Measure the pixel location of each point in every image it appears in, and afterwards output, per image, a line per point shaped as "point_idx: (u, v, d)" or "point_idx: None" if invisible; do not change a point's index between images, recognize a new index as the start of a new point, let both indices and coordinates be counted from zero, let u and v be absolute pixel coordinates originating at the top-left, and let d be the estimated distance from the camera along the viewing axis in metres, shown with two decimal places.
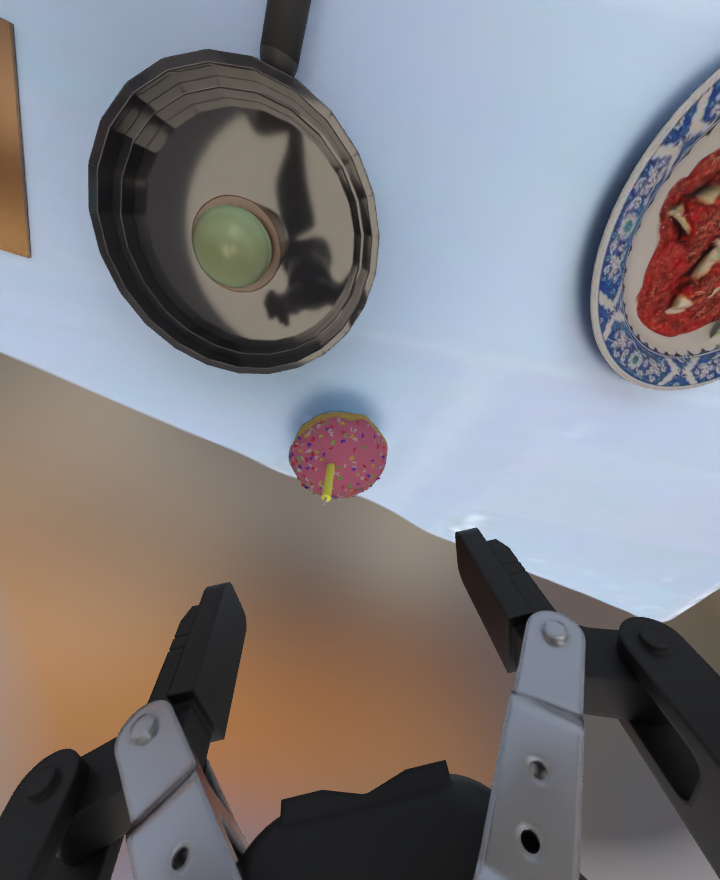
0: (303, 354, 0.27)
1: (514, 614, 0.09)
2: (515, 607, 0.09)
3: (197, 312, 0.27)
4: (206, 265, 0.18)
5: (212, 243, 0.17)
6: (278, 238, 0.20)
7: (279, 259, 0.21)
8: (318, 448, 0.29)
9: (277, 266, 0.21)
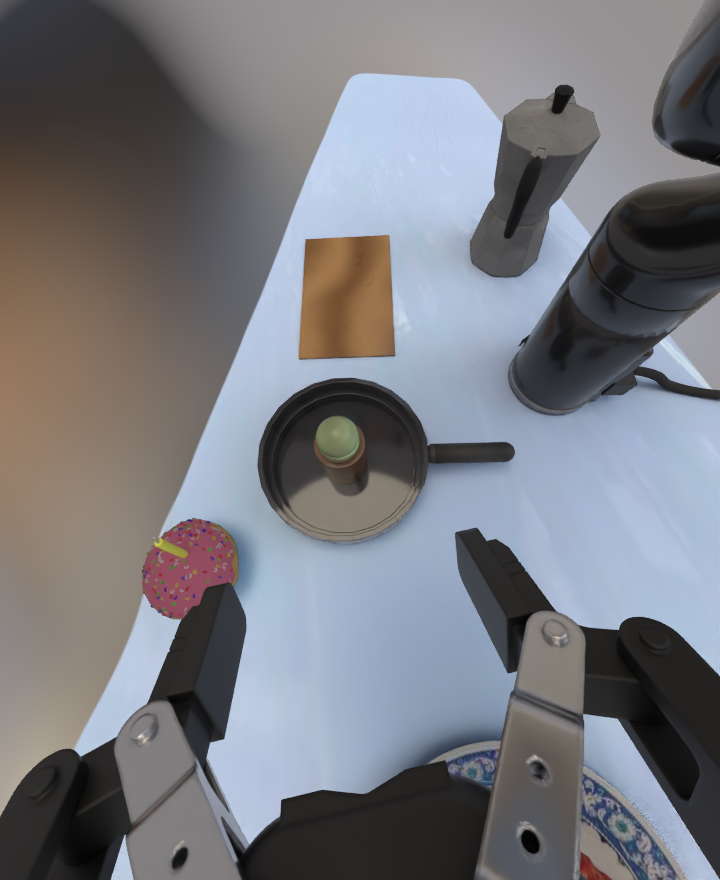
0: (281, 508, 0.35)
1: (514, 614, 0.09)
2: (515, 607, 0.09)
3: (292, 439, 0.40)
4: (324, 422, 0.30)
5: (336, 422, 0.30)
6: (351, 464, 0.32)
7: (340, 467, 0.32)
8: (201, 538, 0.32)
9: (336, 467, 0.32)
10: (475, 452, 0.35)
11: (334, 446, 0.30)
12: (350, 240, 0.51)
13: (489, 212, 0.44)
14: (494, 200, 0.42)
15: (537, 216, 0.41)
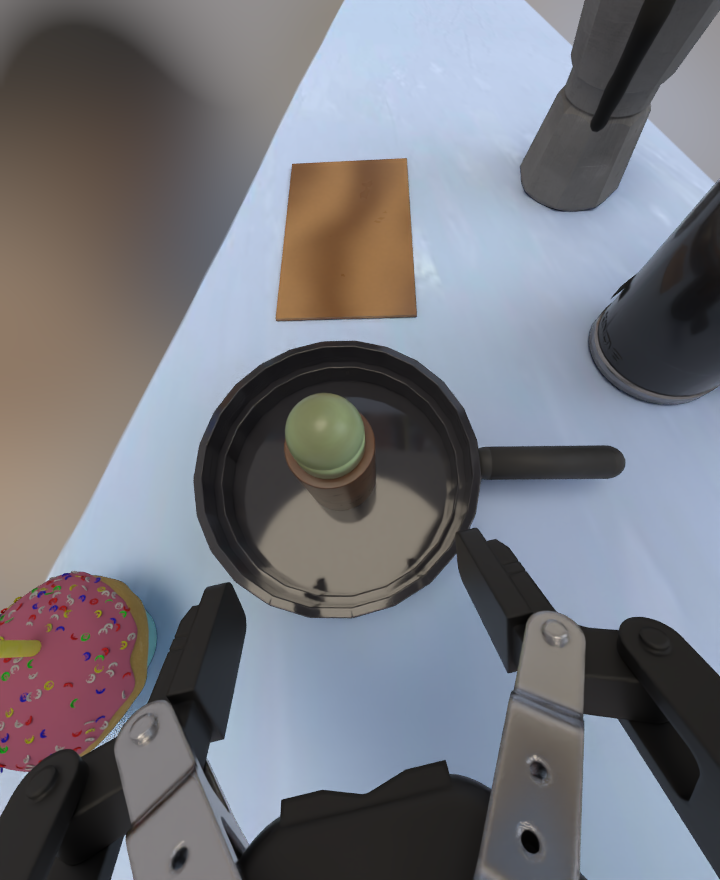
0: (229, 554, 0.20)
1: (514, 614, 0.09)
2: (515, 607, 0.09)
3: (259, 438, 0.26)
4: (299, 404, 0.16)
5: (322, 404, 0.16)
6: (350, 481, 0.18)
7: (330, 487, 0.18)
8: (74, 614, 0.17)
9: (322, 487, 0.18)
10: (560, 462, 0.21)
11: (317, 449, 0.15)
12: (353, 164, 0.37)
13: (559, 106, 0.30)
14: (570, 83, 0.28)
15: (639, 101, 0.27)
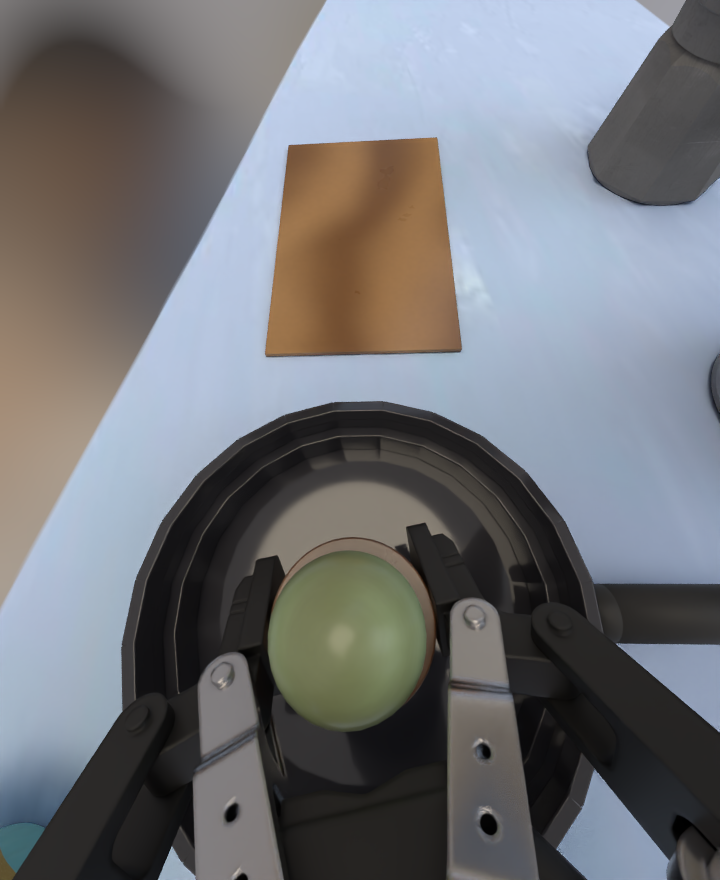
0: None
1: (443, 601, 0.10)
2: (445, 594, 0.10)
3: (239, 539, 0.18)
4: (297, 596, 0.08)
5: (345, 609, 0.07)
6: None
7: None
8: None
9: None
10: None
11: (336, 717, 0.07)
12: (368, 146, 0.28)
13: (662, 56, 0.21)
14: (684, 20, 0.20)
15: None
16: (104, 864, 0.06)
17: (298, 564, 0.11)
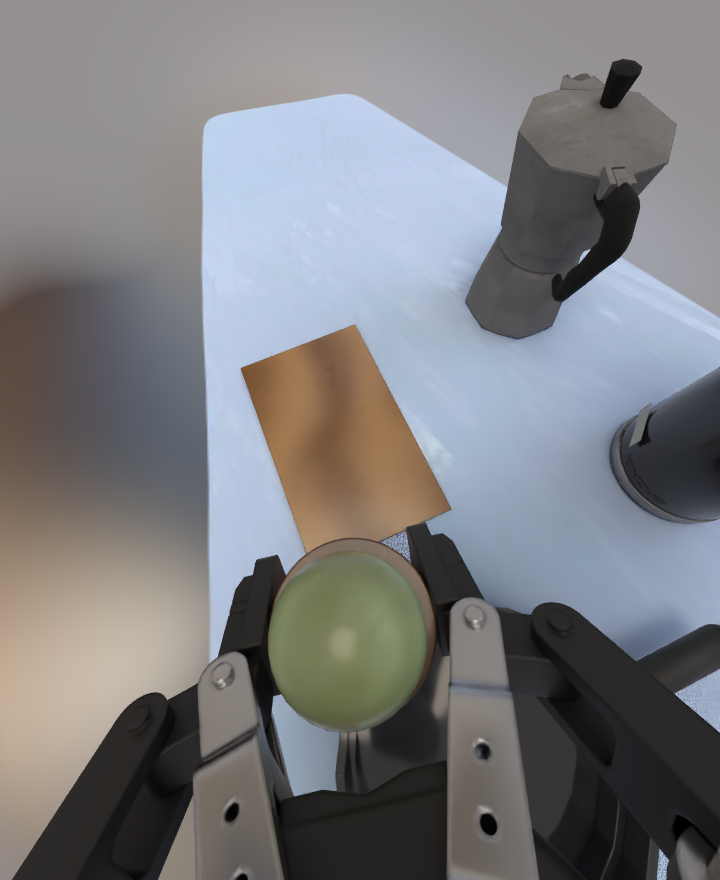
0: None
1: (443, 601, 0.10)
2: (445, 595, 0.10)
3: (370, 738, 0.23)
4: (297, 597, 0.08)
5: (346, 610, 0.07)
6: None
7: None
8: None
9: None
10: (693, 673, 0.21)
11: (337, 718, 0.07)
12: (305, 349, 0.35)
13: (500, 263, 0.30)
14: (508, 248, 0.29)
15: (579, 254, 0.28)
16: (104, 864, 0.06)
17: (298, 565, 0.11)
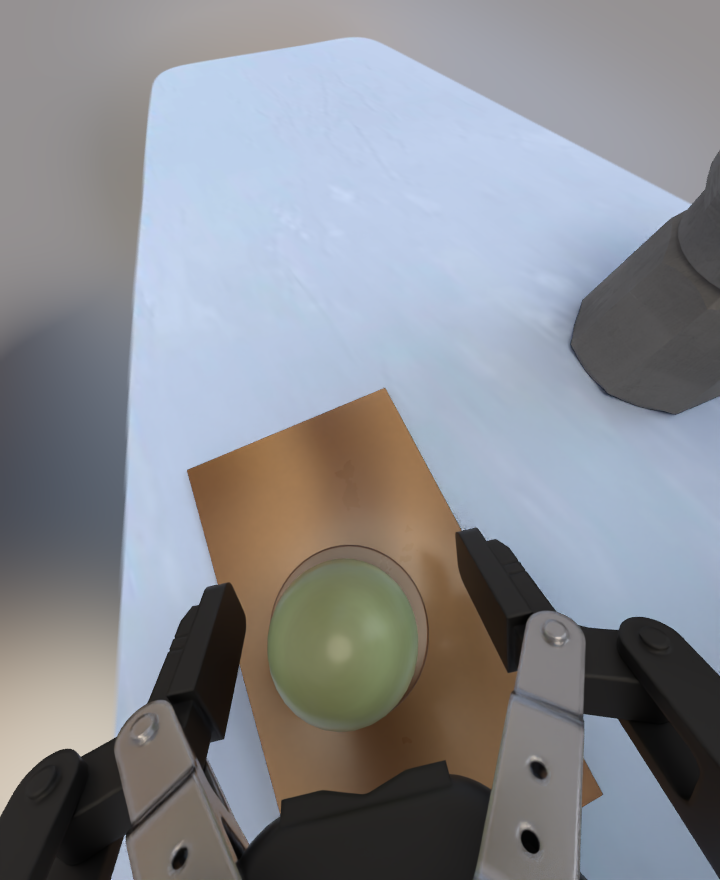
0: None
1: (514, 614, 0.09)
2: (515, 607, 0.09)
3: None
4: (295, 604, 0.08)
5: (341, 616, 0.08)
6: None
7: None
8: None
9: None
10: None
11: (332, 718, 0.07)
12: (301, 434, 0.20)
13: (681, 289, 0.15)
14: (713, 259, 0.14)
15: None
16: None
17: (297, 571, 0.11)
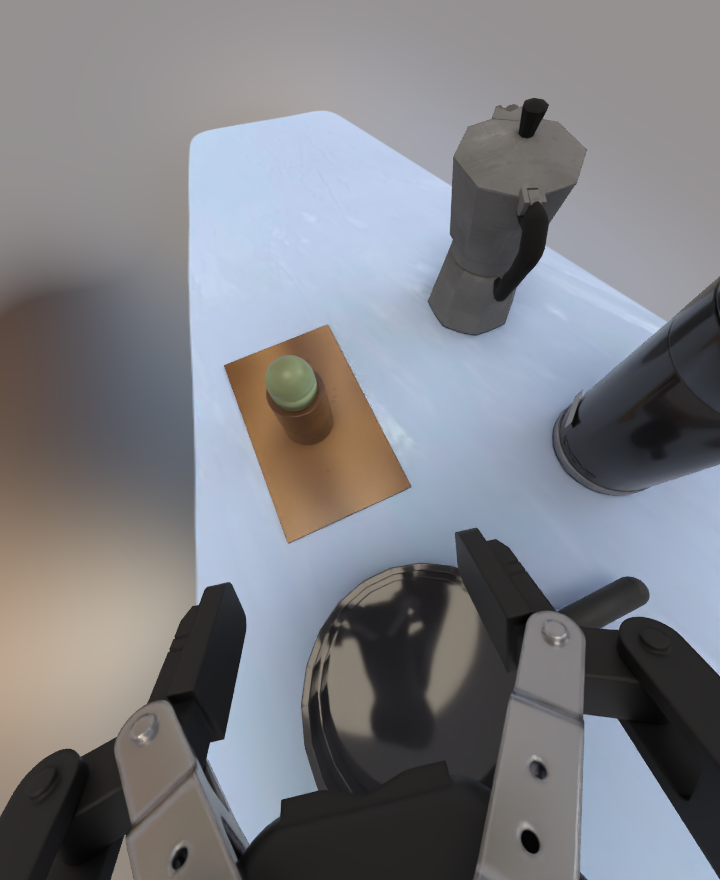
0: None
1: (514, 614, 0.09)
2: (515, 607, 0.09)
3: (335, 682, 0.27)
4: (273, 361, 0.27)
5: (286, 360, 0.26)
6: (307, 413, 0.28)
7: (294, 416, 0.28)
8: None
9: (289, 416, 0.28)
10: (605, 615, 0.24)
11: (283, 387, 0.26)
12: (282, 347, 0.38)
13: (453, 268, 0.34)
14: (457, 254, 0.32)
15: None
16: None
17: None
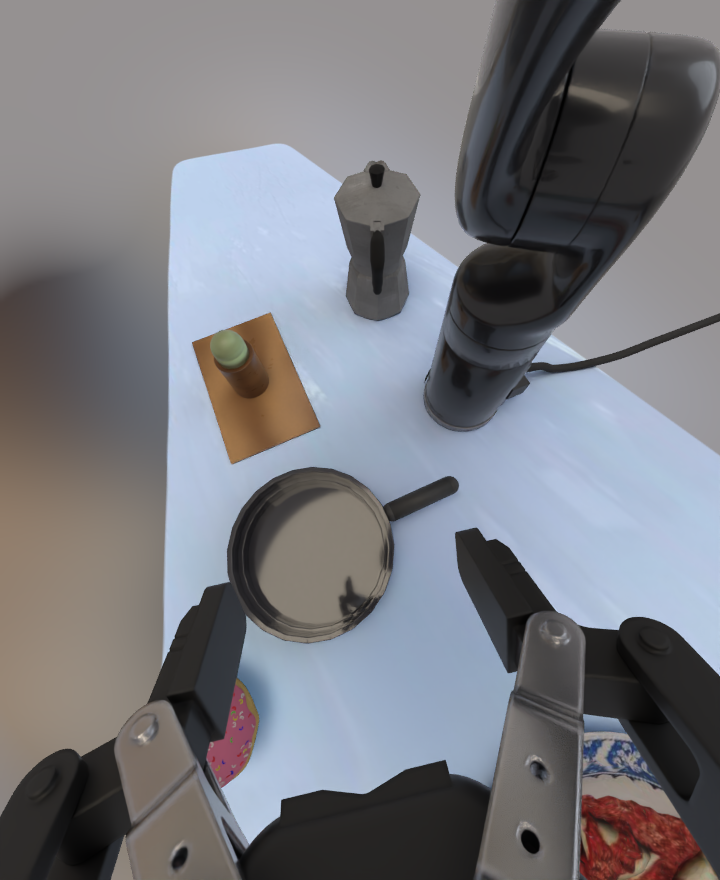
0: (273, 627, 0.35)
1: (514, 614, 0.09)
2: (515, 607, 0.09)
3: (256, 548, 0.40)
4: None
5: (223, 332, 0.39)
6: (240, 370, 0.42)
7: (232, 372, 0.41)
8: None
9: (228, 372, 0.41)
10: (426, 497, 0.38)
11: (221, 350, 0.39)
12: (236, 329, 0.52)
13: (353, 271, 0.47)
14: (353, 261, 0.46)
15: (395, 265, 0.45)
16: None
17: None
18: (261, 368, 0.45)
